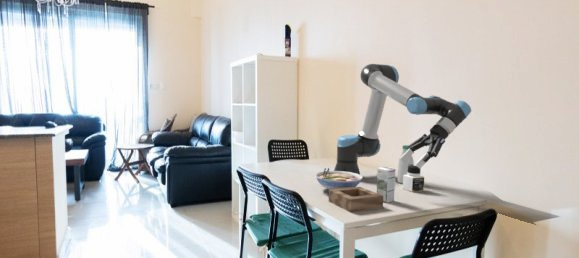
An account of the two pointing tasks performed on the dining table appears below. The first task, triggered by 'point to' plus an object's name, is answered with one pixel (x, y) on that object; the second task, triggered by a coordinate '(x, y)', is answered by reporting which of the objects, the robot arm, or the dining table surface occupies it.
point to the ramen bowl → (338, 179)
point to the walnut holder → (355, 199)
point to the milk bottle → (404, 165)
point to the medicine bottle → (413, 179)
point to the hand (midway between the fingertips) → (409, 163)
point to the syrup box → (386, 183)
